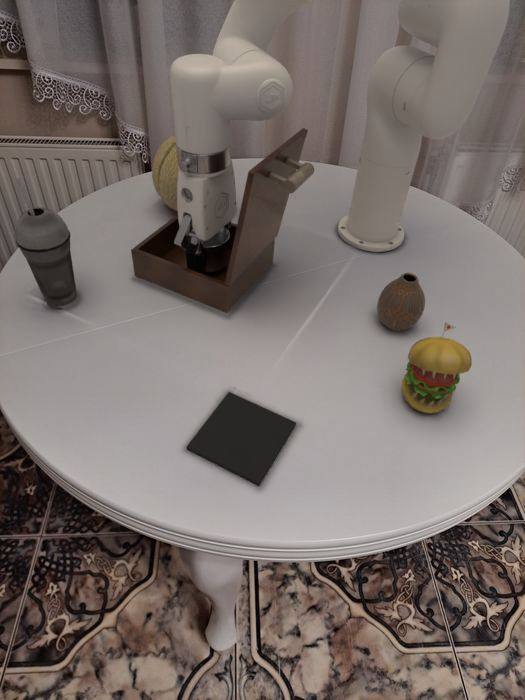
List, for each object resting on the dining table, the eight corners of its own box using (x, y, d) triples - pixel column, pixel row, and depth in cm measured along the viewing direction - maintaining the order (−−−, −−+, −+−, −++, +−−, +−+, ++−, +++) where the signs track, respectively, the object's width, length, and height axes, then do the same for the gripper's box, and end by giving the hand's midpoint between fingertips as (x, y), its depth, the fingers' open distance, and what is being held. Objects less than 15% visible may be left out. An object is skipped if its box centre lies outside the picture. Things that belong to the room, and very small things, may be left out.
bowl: (203, 244, 88) (201, 217, 85) (237, 256, 86) (237, 230, 82) (179, 265, 84) (177, 238, 80) (216, 278, 82) (215, 251, 78)
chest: (135, 279, 84) (130, 249, 80) (188, 235, 94) (186, 207, 90) (226, 316, 79) (227, 287, 75) (272, 265, 89) (275, 237, 85)
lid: (248, 171, 60) (283, 188, 60) (303, 127, 70) (333, 141, 70) (224, 283, 74) (252, 298, 74) (273, 233, 84) (298, 247, 84)
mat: (228, 394, 68) (228, 391, 68) (296, 425, 65) (296, 422, 65) (186, 449, 62) (186, 446, 61) (259, 486, 59) (259, 483, 58)
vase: (419, 314, 82) (436, 269, 76) (414, 342, 77) (431, 297, 71) (377, 303, 83) (389, 258, 77) (369, 330, 78) (382, 285, 72)
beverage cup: (73, 319, 76) (38, 198, 62) (28, 311, 77) (-17, 189, 63) (94, 290, 81) (66, 171, 67) (51, 282, 82) (15, 163, 68)
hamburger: (399, 417, 67) (425, 354, 58) (389, 376, 72) (412, 312, 63) (457, 419, 67) (491, 356, 59) (443, 378, 72) (473, 315, 64)
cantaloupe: (144, 222, 96) (134, 144, 85) (170, 186, 106) (165, 112, 96) (219, 235, 94) (219, 157, 84) (239, 197, 105) (241, 123, 94)
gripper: (191, 188, 65) (199, 295, 78) (256, 139, 76) (253, 240, 89) (144, 173, 68) (159, 280, 80) (213, 128, 78) (217, 227, 91)
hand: (209, 258), depth 85 cm, fingers closed on bowl, 7 cm apart
